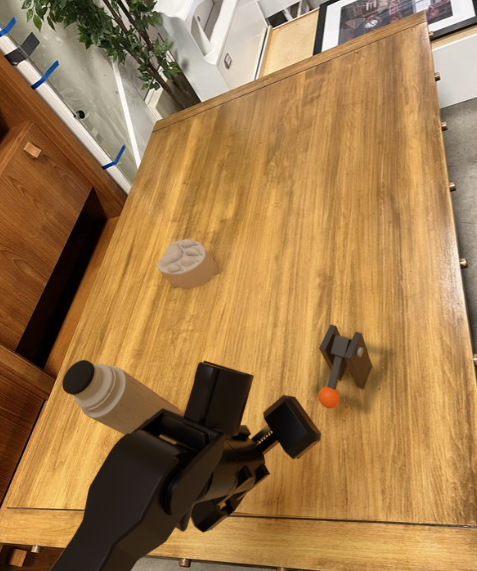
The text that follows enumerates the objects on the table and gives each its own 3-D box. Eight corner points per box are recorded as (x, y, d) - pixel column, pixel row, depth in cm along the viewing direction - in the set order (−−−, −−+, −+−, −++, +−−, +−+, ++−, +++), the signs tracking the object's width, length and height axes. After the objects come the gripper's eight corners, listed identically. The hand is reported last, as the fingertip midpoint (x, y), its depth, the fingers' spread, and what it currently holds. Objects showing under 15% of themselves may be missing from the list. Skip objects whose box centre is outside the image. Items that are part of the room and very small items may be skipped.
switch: (340, 410, 60) (332, 412, 57) (321, 402, 61) (312, 404, 59) (358, 340, 59) (351, 340, 57) (338, 334, 61) (331, 334, 59)
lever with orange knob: (366, 411, 63) (353, 379, 54) (321, 392, 68) (302, 361, 58) (388, 357, 67) (378, 320, 57) (344, 344, 71) (328, 306, 62)
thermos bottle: (172, 408, 78) (75, 343, 57) (203, 421, 73) (110, 355, 53) (152, 448, 74) (41, 393, 54) (183, 464, 70) (76, 411, 50)
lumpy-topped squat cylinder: (185, 256, 104) (168, 234, 97) (225, 259, 97) (210, 236, 90) (167, 288, 99) (148, 267, 93) (208, 294, 92) (191, 272, 86)
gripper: (239, 350, 44) (291, 369, 56) (127, 451, 47) (201, 448, 59) (297, 438, 37) (341, 437, 50) (164, 548, 40) (238, 521, 53)
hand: (275, 459), depth 53 cm, fingers open, 9 cm apart
